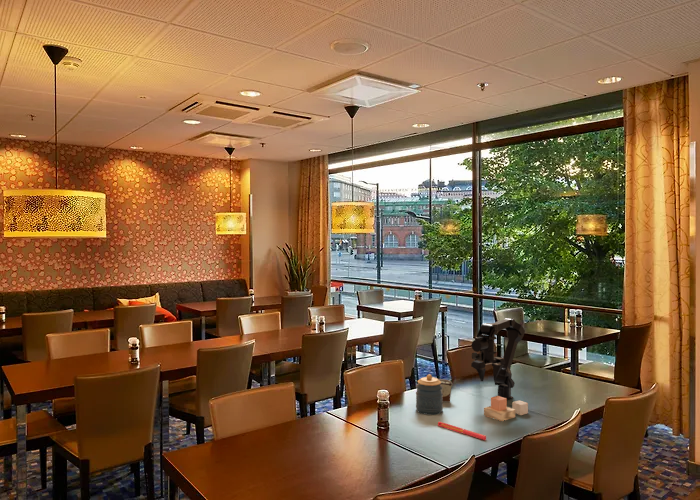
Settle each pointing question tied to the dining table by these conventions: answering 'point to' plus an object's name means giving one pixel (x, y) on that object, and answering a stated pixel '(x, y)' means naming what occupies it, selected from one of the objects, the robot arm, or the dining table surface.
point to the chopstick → (462, 430)
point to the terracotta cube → (498, 403)
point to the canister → (429, 396)
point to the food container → (446, 389)
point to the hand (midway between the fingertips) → (488, 379)
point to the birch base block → (499, 413)
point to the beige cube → (520, 407)
